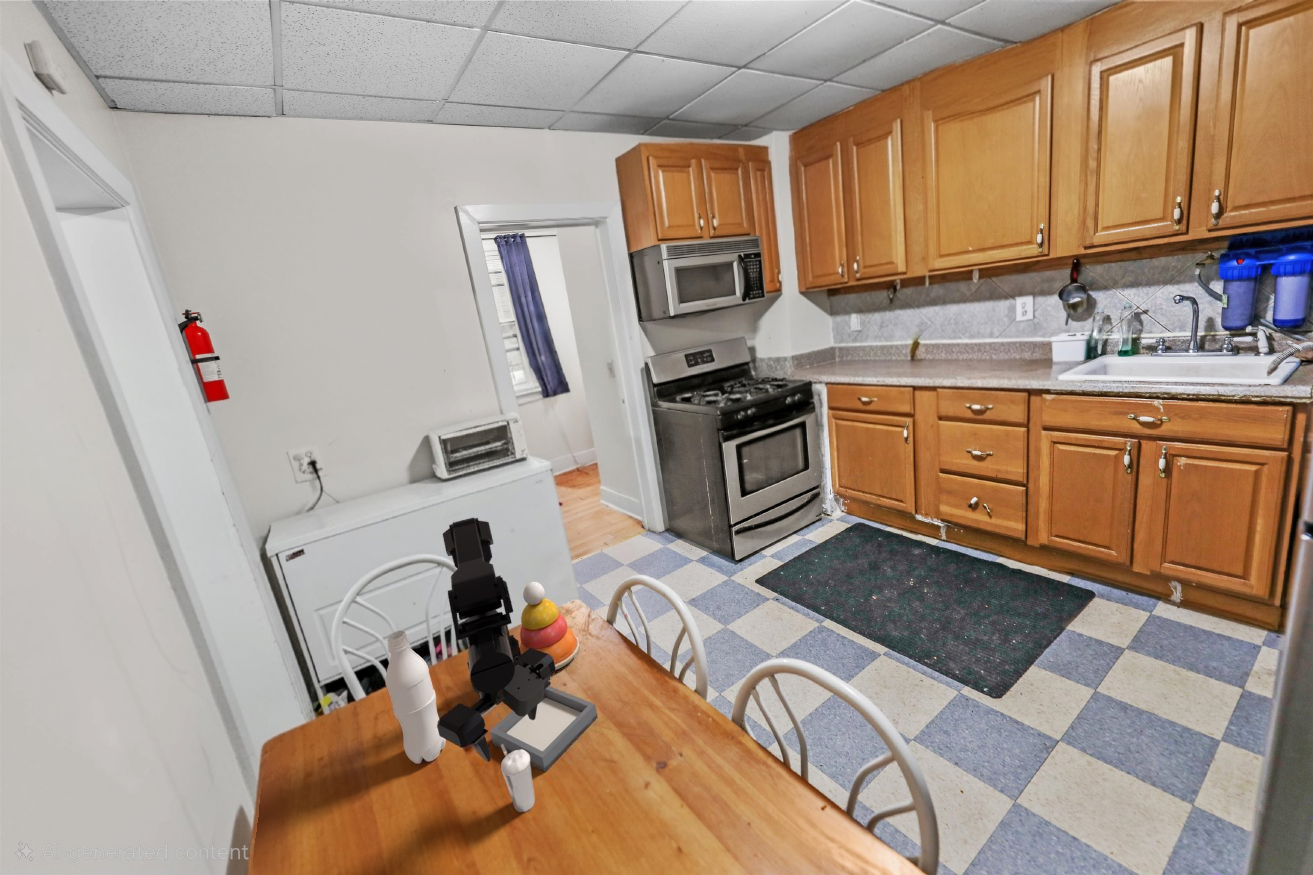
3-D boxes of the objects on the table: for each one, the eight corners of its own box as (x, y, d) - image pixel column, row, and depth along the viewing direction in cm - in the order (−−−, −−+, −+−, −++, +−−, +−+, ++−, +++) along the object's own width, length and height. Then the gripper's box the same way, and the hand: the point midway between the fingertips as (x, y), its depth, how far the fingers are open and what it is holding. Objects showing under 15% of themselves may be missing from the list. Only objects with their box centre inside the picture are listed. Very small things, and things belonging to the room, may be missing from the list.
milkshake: (524, 784, 91) (513, 734, 89) (545, 799, 87) (533, 748, 85) (502, 805, 88) (489, 753, 85) (522, 821, 84) (509, 768, 82)
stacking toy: (561, 631, 135) (547, 560, 130) (592, 654, 124) (578, 577, 119) (508, 660, 126) (491, 584, 122) (536, 687, 115) (519, 605, 111)
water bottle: (434, 769, 97) (400, 647, 91) (399, 767, 98) (364, 647, 93) (456, 738, 104) (426, 623, 98) (423, 737, 105) (392, 623, 100)
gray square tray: (493, 744, 101) (489, 730, 100) (546, 696, 112) (543, 683, 111) (545, 772, 93) (542, 757, 92) (597, 717, 104) (595, 704, 103)
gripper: (474, 708, 69) (498, 807, 73) (571, 629, 84) (587, 714, 88) (423, 685, 76) (448, 776, 79) (522, 615, 91) (539, 695, 94)
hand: (511, 738), depth 85 cm, fingers open, 9 cm apart
